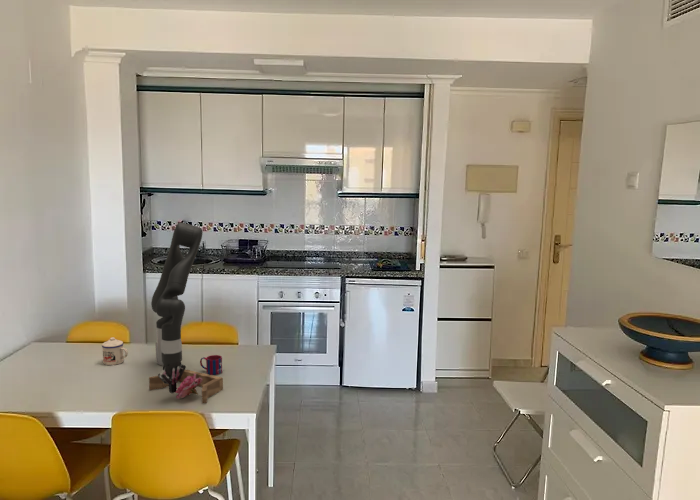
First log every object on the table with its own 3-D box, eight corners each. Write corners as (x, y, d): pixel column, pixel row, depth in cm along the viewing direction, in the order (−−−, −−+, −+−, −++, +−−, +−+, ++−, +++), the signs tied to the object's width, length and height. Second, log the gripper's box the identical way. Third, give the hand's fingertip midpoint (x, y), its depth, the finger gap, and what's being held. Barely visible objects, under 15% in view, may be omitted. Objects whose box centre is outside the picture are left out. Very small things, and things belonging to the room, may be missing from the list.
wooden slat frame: (147, 389, 214) (147, 377, 213) (173, 377, 227) (172, 366, 226) (204, 404, 202) (204, 391, 201) (228, 390, 214) (228, 378, 213)
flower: (173, 407, 206) (167, 382, 209) (197, 402, 212) (191, 378, 216) (185, 398, 198) (179, 373, 202) (209, 393, 205) (203, 368, 208)
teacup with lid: (98, 364, 241) (96, 340, 239) (111, 358, 250) (110, 334, 248) (121, 367, 238) (120, 342, 236) (134, 360, 247) (132, 336, 245)
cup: (216, 376, 229) (216, 361, 228) (197, 372, 233) (196, 358, 232) (225, 370, 236) (224, 356, 235) (206, 367, 239) (205, 353, 238)
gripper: (176, 343, 212) (177, 384, 214) (151, 353, 200) (152, 396, 202) (191, 346, 209) (192, 388, 211) (166, 356, 197) (167, 400, 199)
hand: (172, 392), depth 207 cm, fingers closed
